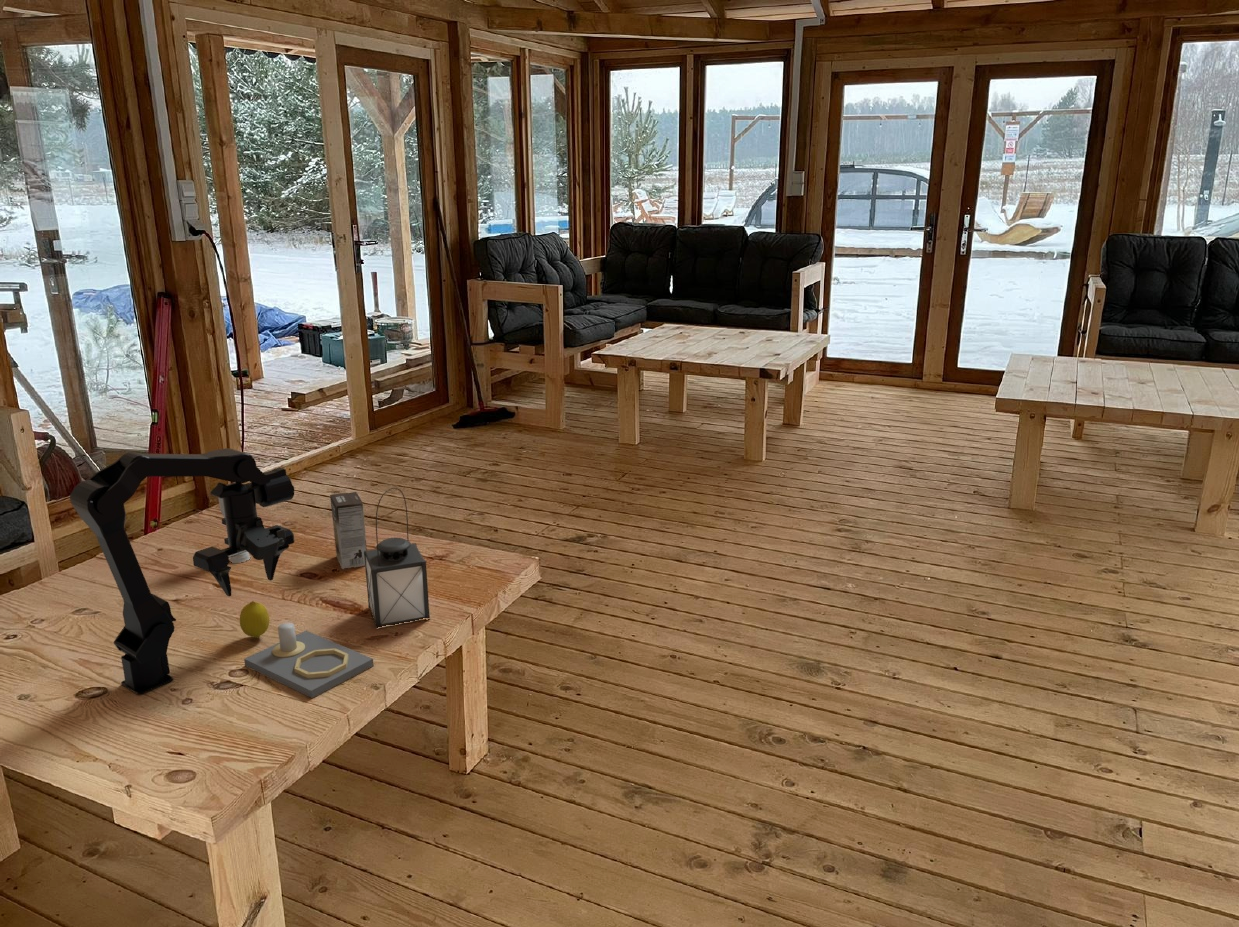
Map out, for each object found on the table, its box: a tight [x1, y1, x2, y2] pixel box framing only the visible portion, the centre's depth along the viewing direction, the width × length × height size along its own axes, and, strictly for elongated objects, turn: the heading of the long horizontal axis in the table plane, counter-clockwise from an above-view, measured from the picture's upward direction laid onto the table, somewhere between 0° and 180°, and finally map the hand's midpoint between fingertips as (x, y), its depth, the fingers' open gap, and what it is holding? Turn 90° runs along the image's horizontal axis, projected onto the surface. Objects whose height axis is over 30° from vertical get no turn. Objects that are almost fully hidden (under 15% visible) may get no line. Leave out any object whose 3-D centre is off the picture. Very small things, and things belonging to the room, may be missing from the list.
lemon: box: [239, 600, 270, 639], centre depth 184 cm, size 6×6×8 cm
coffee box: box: [329, 491, 368, 570], centre depth 220 cm, size 9×6×16 cm
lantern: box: [364, 487, 431, 629], centre depth 191 cm, size 11×11×28 cm
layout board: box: [243, 622, 375, 699], centre depth 173 cm, size 14×20×6 cm
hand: (250, 587), depth 181 cm, fingers open, 9 cm apart
